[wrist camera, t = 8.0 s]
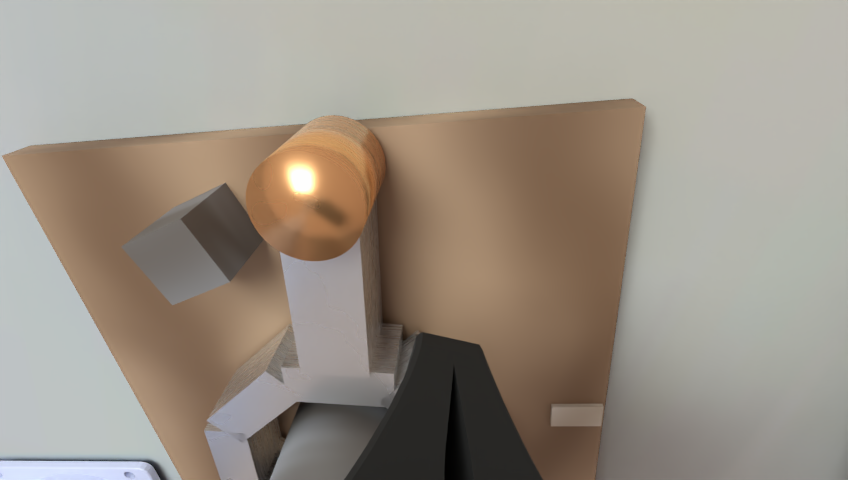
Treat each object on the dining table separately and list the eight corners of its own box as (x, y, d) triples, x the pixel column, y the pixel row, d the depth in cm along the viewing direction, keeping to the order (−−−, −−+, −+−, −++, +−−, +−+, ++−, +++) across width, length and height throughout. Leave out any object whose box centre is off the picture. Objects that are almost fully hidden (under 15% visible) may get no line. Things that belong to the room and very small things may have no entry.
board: (235, 540, 25) (180, 674, 20) (30, 145, 14) (-193, 225, 9) (577, 549, 23) (609, 700, 18) (632, 98, 12) (744, 169, 7)
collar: (477, 501, 19) (479, 581, 17) (262, 485, 20) (231, 560, 17) (517, 119, 11) (533, 157, 9) (159, 111, 12) (76, 144, 9)
